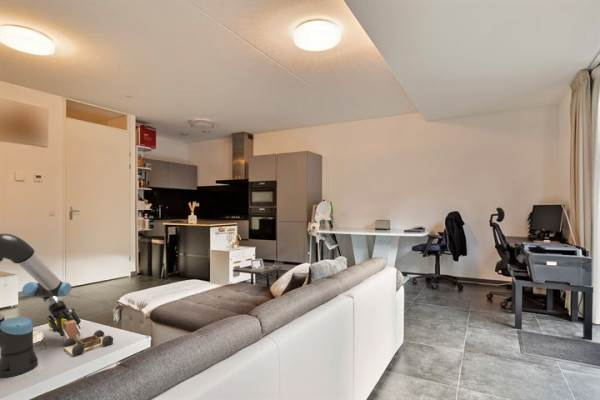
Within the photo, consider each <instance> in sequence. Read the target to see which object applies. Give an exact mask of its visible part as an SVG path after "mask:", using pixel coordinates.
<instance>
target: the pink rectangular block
mask: <svg viewBox="0 0 600 400" xmlns="http://www.w3.org/2000/svg"><path fill="white" fill-rule="evenodd" d="M63 329H65V331H66V333H67V335H68V337H69V339H70V338H73V339H74V340H75V341H76V344H77V340H78V339H77V337H78V335H77V331H76V321H75V320H71V321H67V322H63ZM62 340H63V345H64V343H65V339H64V338H63V337H62Z"/></svg>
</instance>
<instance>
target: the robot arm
mask: <svg viewBox="0 0 600 400" xmlns="http://www.w3.org/2000/svg"><path fill="white" fill-rule="evenodd" d="M35 251H36V250H35V249H34V248H33V247H32V245H30V244H29V243H28V242H27V241H25V240H24V239H22V238H21V237H18V236H17V235H14V234H11V233H0V264H1V263H2V262H3V261H4V259H6V260H9V261H11V262H12V263H13V264H17V265H19V266H20V267H21V268H22V269H23V270H24V271H26V273H28V275H29V276H31V277H32V278H33V280H35V281H36V282H32V281H29V282H27V283H26V284H24V285H23V287H22V290H21V293H22V295H23V296H25V297H29V298H30V297H31V298H38V299H42V300H43V302H44V303H45V305H46V307H47V309H48V311H49V312H50V314H49V315H48V316H47V318H46V320H47V321H48V322H50V324H51V327H52V328H51V330H52V331H53V333H58V334H59V335H60V337H62V339H63V338H64V339H65V341H66V340H68V339H69V337H68V335H67V333H66V331H65V329H62V323H61V319H62V318H65V320H66V319H67V320H68V321H71V320H75V321H76V331H77V337H78V338H79V337H80V336H82V334H83V332H82V331H81V327H80V324H81V322H82V321H81V320H80V317H79V316H78V314H77V313H76V312H75V308H71V309H69V308H67V306H66V304H65V302H64V300H63V298H62V297H67V296H68V295H69V294H70V292H71V291H72V285H71V283H70V282H66V281H62V280H60V278H59V277H58V276H57V275H56V274H55V273H54V272H53V271H52V270H51V269H50V267H48V266H47V265H46V264H45V263H44V262H43V260H41V259H40V258H39V257H38V255H36V252H35ZM55 321H56V322H57V325H56V323H55ZM38 364H39V359H38V356H37V355H36V353H35V351H34V326H33V320H32V319H31V318H29V317H25V316H24V317H23V316H19V317H18V316H17V317H11V318H7V319H5V315H4V314H2V313H0V378H10V377H15V376H18V375H22V374H25V373H27V372H30V371H32V370H34V369H35V368H36V367H37V366H38Z"/></svg>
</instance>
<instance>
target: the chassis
mask: <svg viewBox="0 0 600 400" xmlns="http://www.w3.org/2000/svg"><path fill="white" fill-rule="evenodd" d="M112 344H114V337H113V336H111V335H105V332H104V331H103V330H101V329H98V330H96V331H95V332H94V333H93V334H92V335H91V336H87V337H82V338H80V339H77V343H76V341H75V340H74V339H73V338H70V339H68V340H66V341H65V343H64V344H63V346H64V347H63V351H64V352H65V353H66V354H68V356H69V357H71V358H73V357H74V356H80V355H82V354H84V353H86V352H90V351H94V350H97V349H99V348H102V347H105V346H106V347H107V346H111V345H112Z"/></svg>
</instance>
